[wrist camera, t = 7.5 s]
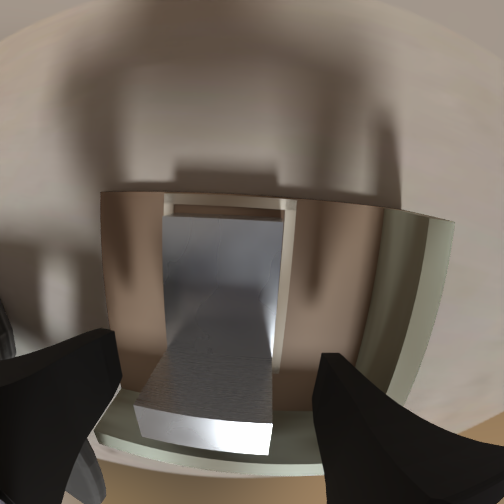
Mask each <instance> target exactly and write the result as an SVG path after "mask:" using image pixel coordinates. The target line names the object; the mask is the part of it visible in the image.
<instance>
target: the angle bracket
mask: <svg viewBox="0 0 504 504" xmlns="http://www.w3.org/2000/svg"><path fill="white" fill-rule="evenodd" d="M282 236H283V220H282V218H277V217H261V216H243V215H223V214H200V213H173V214H169V215H165V216H162V259H163V291H164V310H165V325H166V338H167V349H166V351H165V353H164V354H163V356H162V358H161V359H160V361H159V363H158V364H157V366H156V368H155V369H154V371H153V373H152V374H151V376H150V378H149V379H148V381H147V383H146V384H145V386H144V388H143V389H142V391H141V393H140V394H139V396H138V398H137V399H136V401H135V403H134V404H133V406H134V410H135V414H136V418H137V421H138V425H139V429H140V432H141V436H142V437H145V438H149V439H154V440H158V441H163V442H168V443H173V444H178V445H183V446H189V447H195V448H202V449H209V450H216V451H225V452H235V453H247V454H264V455H268V450H269V443H270V437H271V430H272V353H273V342H274V332H275V322H276V311H277V299H278V288H279V275H280V263H281V250H282Z"/></svg>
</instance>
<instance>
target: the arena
mask: <svg viewBox="0 0 504 504" xmlns="http://www.w3.org/2000/svg"><path fill="white" fill-rule="evenodd" d="M173 213H200V214H223V215H243V216H261V217H277V218H282V220H283V236H282V250H281V263H280V275H279V288H278V299H277V311H276V322H275V332H274V342H273V353H272V430H271V437H270V443H269V450H268V455H264V454H247V453H235V452H225V451H216V450H209V449H202V448H195V447H189V446H183V445H178V444H173V443H168V442H163V441H158V440H154V439H149V438H145V437H142V436H141V432H140V429H139V425H138V421H137V418H136V414H135V410H134V406H133V404H134V403H135V401H136V399H137V398H138V396H139V394H140V393H141V391H142V389H143V388H144V386H145V384H146V383H147V381H148V379H149V378H150V376H151V374H152V373H153V371H154V369H155V368H156V366H157V364H158V363H159V361H160V359H161V358H162V356H163V354H164V353H165V351H166V349H167V338H166V325H165V310H164V291H163V259H162V216H165V215H169V214H173ZM454 226H455V222H453V221H449V220H445V219H441V218H436V217H432V216H428V215H424V214H419V213H415V212H410V211H406V210H401V209H393V208H386V207H378V206H369V205H361V204H352V203H343V202H333V201H323V200H312V199H301V198H288V197H275V196H260V195H243V194H223V193H198V192H145V191H125V192H101V246H102V263H103V275H104V286H105V295H106V304H107V312H108V319H109V326H110V330H113V331H115V337H116V343H117V349H118V354H119V360H120V365H121V370H122V375H123V377H122V379H121V381H120V383H121V390H120V391H119V393H118V394H117V396H116V397H115V399H114V400H113V402H112V403H111V405H110V406H109V408H108V409H107V411H106V412H105V414H104V415H103V417H102V418H101V420H100V421H99V423H98V424H97V426H96V427H95V429H94V433H95V435H96V437H97V440H98V442H99V444H102V445H105V446H108V447H111V448H114V449H117V450H120V451H124V452H127V453H130V454H134V455H137V456H141V457H145V458H149V459H153V460H157V461H161V462H166V463H170V464H175V465H180V466H185V467H191V468H197V469H203V470H210V471H217V472H226V473H235V474H247V475H265V476H313V475H324V470H323V465H322V461H321V456H320V451H319V446H318V442H317V437H316V432H315V428H314V423H313V411H312V395H313V390H314V386H315V382H316V377H317V372H318V368H319V363H320V358H321V353H340V354H341V355H342V356H344V357H345V358H346V359H347V360H348V361H349V362H350V363H351V364H352V365H353V366H354V367H355V368H356V369H357V370H359V371H360V372H361V373H362V374H363V375H364V376H365V377H366V378H367V379H368V380H369V381H371V382H372V383H373V384H374V385H375V386H376V387H378V388H379V389H380V390H381V391H382V392H384V393H385V394H386V395H388V396H389V397H390V398H392V399H393V400H394V401H396V402H397V403H398V404H400V405H401V406H404V404H405V402H406V400H407V397H408V395H409V393H410V390H411V388H412V385H413V383H414V381H415V378H416V375H417V373H418V370H419V368H420V365H421V362H422V359H423V357H424V354H425V351H426V348H427V345H428V342H429V339H430V336H431V332H432V329H433V326H434V322H435V319H436V315H437V312H438V308H439V304H440V300H441V296H442V292H443V288H444V283H445V279H446V274H447V269H448V264H449V259H450V253H451V247H452V241H453V234H454Z"/></svg>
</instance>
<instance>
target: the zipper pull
mask: <svg viewBox="0 0 504 504" xmlns="http://www.w3.org/2000/svg"><path fill="white" fill-rule="evenodd" d="M15 355H16V348H15V342H14V336H13V330H12V327H11V325H10V322H9V320H8V318H7V315H6V313H5V310H4V307H3V305H2V302H1V299H0V360H5V359H9V358H14V357H15ZM65 491H67V492H68V493H69V494H71V495H72V496H73V497H75V498H76V499H78V500H79V501H81V502H82V503H84V504H101V503H102V501H103V500H104V498H105V497H106V487H105V483H104V479H103V475H102V472H101V469H100V467H99V464H98V461H97V459H96V456H95V453H94V451H93V449H92V447H91V445H90V443H89V441H88V439H86V440H85V442H84V444H83V446H82V448H81V450H80V452H79V455H78V457H77V459H76V461H75V464H74V466H73V469H72V472H71V474H70V477H69V480H68V482H67V486H66V489H65Z"/></svg>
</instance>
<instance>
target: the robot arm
mask: <svg viewBox="0 0 504 504" xmlns="http://www.w3.org/2000/svg"><path fill="white" fill-rule="evenodd" d="M122 377H123V375H122V370H121V365H120V360H119V354H118V349H117V343H116V337H115V331H113V330H108V329H103V328H99V329H95V330H92V331H89V332H86V333H84V334H81V335H78V336H76V337H73V338H71V339H68V340H66V341H63V342H61V343H58V344H55V345H53V346H50V347H47V348H44V349H41V350H38V351H35V352H32V353H29V354H26V355H22V356H18V357H14V358H9V359H5V360H0V504H61V503H62V499H63V495H64V492H65V489H66V486H67V482H68V480H69V477H70V474H71V472H72V469H73V466H74V464H75V461H76V459H77V457H78V455H79V452H80V450H81V448H82V446H83V444H84V442H85V440H86V439H87V437H88V435H89V434H90V432H91V431H92V429H93V428H94V426H95V425H96V423H97V421H98V420H99V418H100V417H101V415H102V414H103V412H104V411H105V409H106V408H107V406H108V405H109V403H110V401H111V400H112V398H113V397H114V394H115V392H116V390H117V388H118V386H119V384H120V381H121V379H122ZM312 411H313V423H314V428H315V432H316V437H317V442H318V446H319V451H320V456H321V461H322V465H323V470H324V476H325V482H326V495H327V504H497V503H498V502H499V501H500V500H501V499H502V498H503V497H504V446H499V445H493V444H488V443H483V442H479V441H475V440H472V439H469V438H466V437H463V436H460V435H457V434H455V433H452V432H449V431H447V430H445V429H443V428H440V427H438V426H436V425H434V424H432V423H430V422H428V421H426V420H424V419H422V418H420V417H419V416H417V415H416V414H414V413H412V412H411V411H409V410H407V409H406V408H404V407H403V406H401V405H400V404H398V403H397V402H396V401H394V400H393V399H392V398H390V397H389V396H388V395H386V394H385V393H384V392H382V391H381V390H380V389H379V388H378V387H376V386H375V385H374V384H373V383H372V382H371V381H369V380H368V379H367V378H366V377H365V376H364V375H363V374H362V373H361V372H360V371H359V370H357V369H356V368H355V367H354V366H353V365H352V364H351V363H350V362H349V361H348V360H347V359H346V358H345V357H344V356H342V355H341V354H340V353H321V358H320V363H319V368H318V372H317V377H316V382H315V386H314V390H313V395H312Z"/></svg>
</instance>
